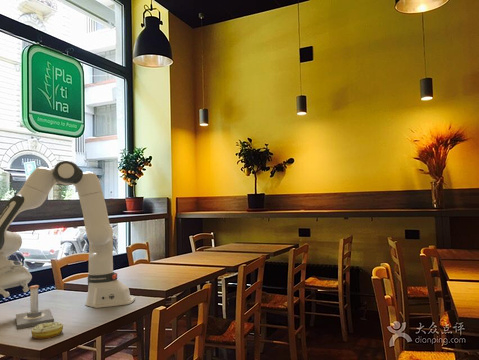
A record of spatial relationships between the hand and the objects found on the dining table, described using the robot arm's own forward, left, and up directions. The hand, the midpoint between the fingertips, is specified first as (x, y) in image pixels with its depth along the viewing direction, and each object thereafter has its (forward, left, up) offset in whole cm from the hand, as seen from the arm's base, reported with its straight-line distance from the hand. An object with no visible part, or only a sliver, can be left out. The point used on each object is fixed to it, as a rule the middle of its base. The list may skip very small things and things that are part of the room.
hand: (17, 293), depth 164 cm
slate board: (-8, +4, -11) cm, 14 cm away
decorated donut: (-21, +24, -11) cm, 34 cm away
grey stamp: (-8, +4, -9) cm, 13 cm away
